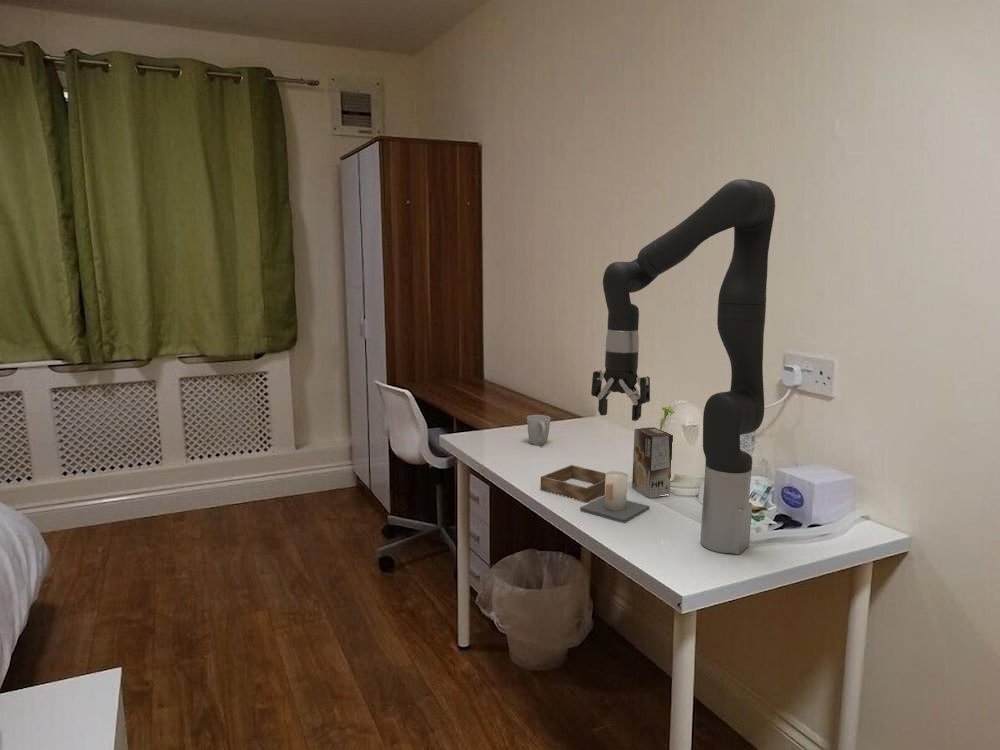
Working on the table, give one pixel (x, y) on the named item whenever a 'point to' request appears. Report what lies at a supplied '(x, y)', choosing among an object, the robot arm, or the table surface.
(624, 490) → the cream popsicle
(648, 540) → the table surface
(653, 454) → the coffee box
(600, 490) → the holder
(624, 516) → the mat
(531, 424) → the cup
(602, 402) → the robot arm
